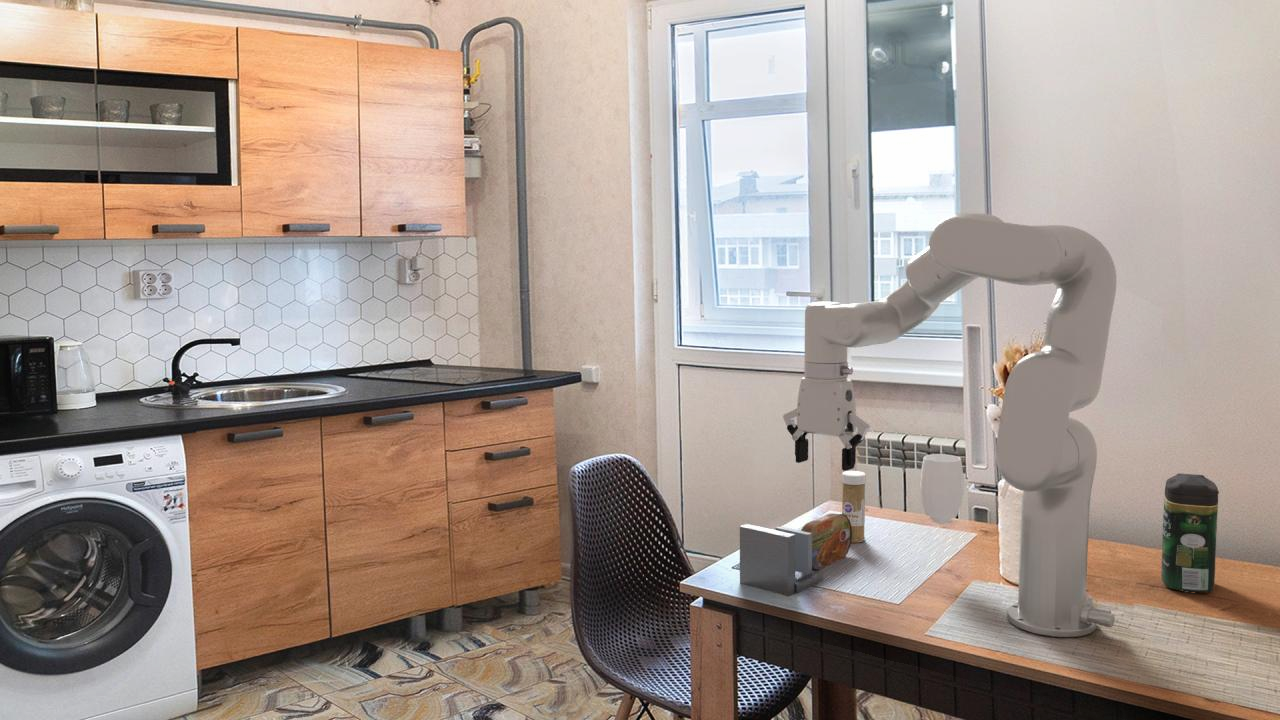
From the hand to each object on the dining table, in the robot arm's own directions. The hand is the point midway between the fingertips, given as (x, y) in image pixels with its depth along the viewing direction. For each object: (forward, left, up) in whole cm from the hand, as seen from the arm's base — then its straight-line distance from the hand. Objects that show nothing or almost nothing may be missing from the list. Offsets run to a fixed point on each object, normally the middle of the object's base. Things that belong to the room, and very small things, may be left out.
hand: (824, 465), depth 183 cm
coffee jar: (-53, -28, -18) cm, 63 cm away
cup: (-19, -7, -18) cm, 27 cm away
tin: (0, 0, -18) cm, 18 cm away
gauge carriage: (+1, +10, -17) cm, 20 cm away
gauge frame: (0, +14, -18) cm, 23 cm away
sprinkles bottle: (+3, -15, -18) cm, 24 cm away
